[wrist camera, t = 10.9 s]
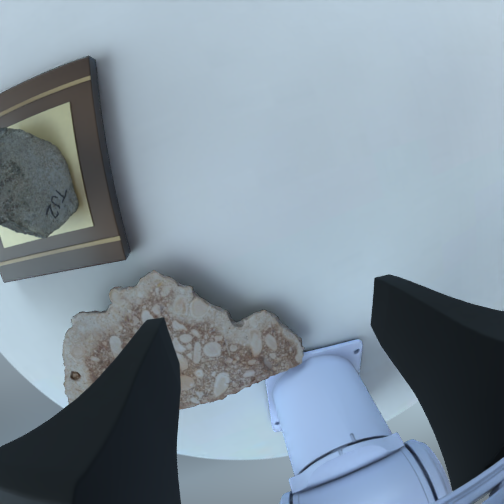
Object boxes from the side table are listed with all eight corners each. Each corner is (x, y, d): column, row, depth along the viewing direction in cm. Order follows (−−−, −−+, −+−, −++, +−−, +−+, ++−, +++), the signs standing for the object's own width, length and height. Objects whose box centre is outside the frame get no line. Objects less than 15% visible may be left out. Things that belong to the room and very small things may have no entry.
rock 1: (80, 217, 18) (81, 255, 14) (-21, 229, 14) (-44, 270, 10) (80, 116, 15) (77, 124, 11) (-30, 130, 11) (-64, 145, 7)
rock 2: (85, 438, 18) (7, 330, 14) (90, 404, 21) (26, 302, 17) (313, 369, 21) (288, 237, 17) (292, 341, 24) (266, 221, 21)
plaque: (130, 252, 18) (126, 261, 17) (11, 275, 17) (2, 284, 16) (95, 59, 14) (88, 54, 12) (-27, 114, 13) (-38, 114, 12)
